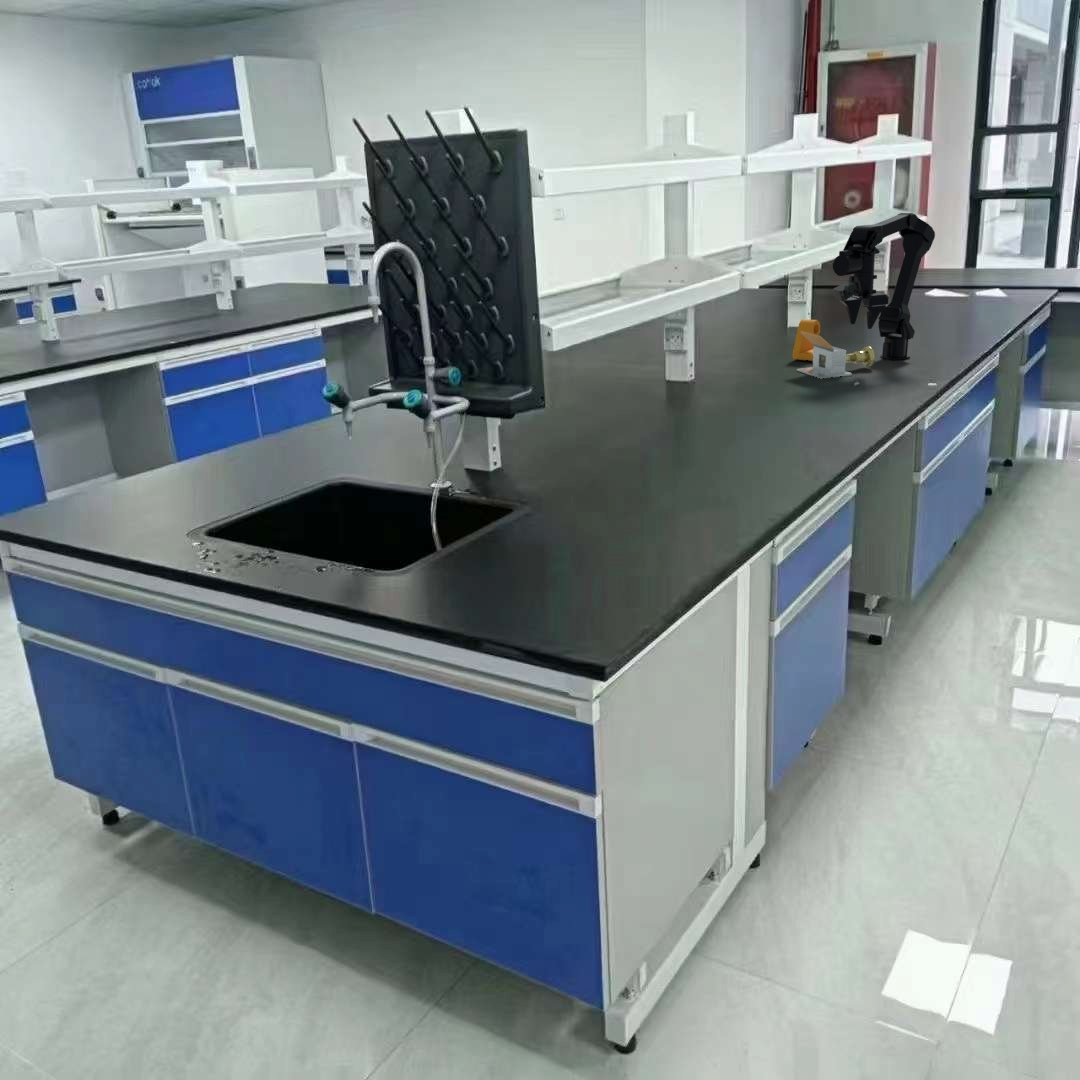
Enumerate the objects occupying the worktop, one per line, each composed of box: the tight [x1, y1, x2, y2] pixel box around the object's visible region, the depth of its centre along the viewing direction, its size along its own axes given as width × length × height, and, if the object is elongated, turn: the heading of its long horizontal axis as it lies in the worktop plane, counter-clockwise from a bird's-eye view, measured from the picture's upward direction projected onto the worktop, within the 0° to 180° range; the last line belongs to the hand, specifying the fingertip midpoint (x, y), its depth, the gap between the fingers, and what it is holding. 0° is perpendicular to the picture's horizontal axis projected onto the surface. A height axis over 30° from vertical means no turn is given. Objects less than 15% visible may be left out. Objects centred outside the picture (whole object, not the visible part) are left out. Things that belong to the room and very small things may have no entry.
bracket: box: [792, 318, 821, 362], centre depth 318 cm, size 11×7×12 cm, turn 138°
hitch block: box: [796, 345, 853, 380], centre depth 299 cm, size 10×13×7 cm
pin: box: [846, 346, 876, 367], centre depth 301 cm, size 14×6×6 cm, turn 107°
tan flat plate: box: [800, 331, 834, 352], centre depth 296 cm, size 6×10×1 cm
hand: (861, 326), depth 302 cm, fingers open, 9 cm apart
